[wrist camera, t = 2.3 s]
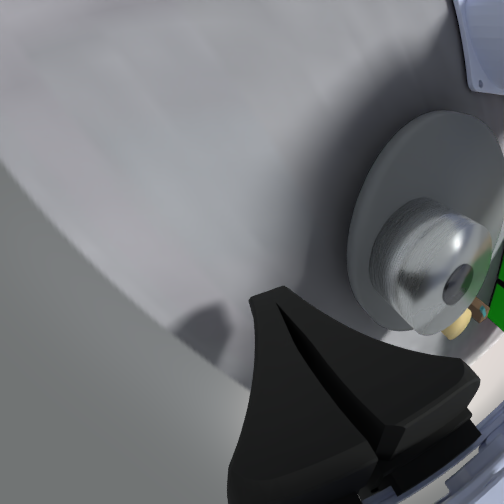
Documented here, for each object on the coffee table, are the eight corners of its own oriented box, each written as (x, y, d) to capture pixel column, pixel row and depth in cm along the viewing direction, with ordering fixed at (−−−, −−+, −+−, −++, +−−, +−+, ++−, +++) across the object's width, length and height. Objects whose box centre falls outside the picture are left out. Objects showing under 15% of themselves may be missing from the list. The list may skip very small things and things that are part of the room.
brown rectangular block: (466, 280, 19) (493, 300, 17) (462, 297, 20) (486, 318, 17) (456, 286, 19) (482, 308, 16) (451, 304, 20) (476, 326, 17)
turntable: (498, 110, 12) (539, 121, 9) (479, 279, 18) (506, 301, 15) (336, 118, 10) (389, 127, 7) (345, 350, 16) (372, 388, 13)
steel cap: (450, 187, 12) (503, 213, 9) (439, 276, 14) (479, 308, 11) (369, 212, 11) (425, 248, 8) (366, 311, 13) (405, 355, 11)
